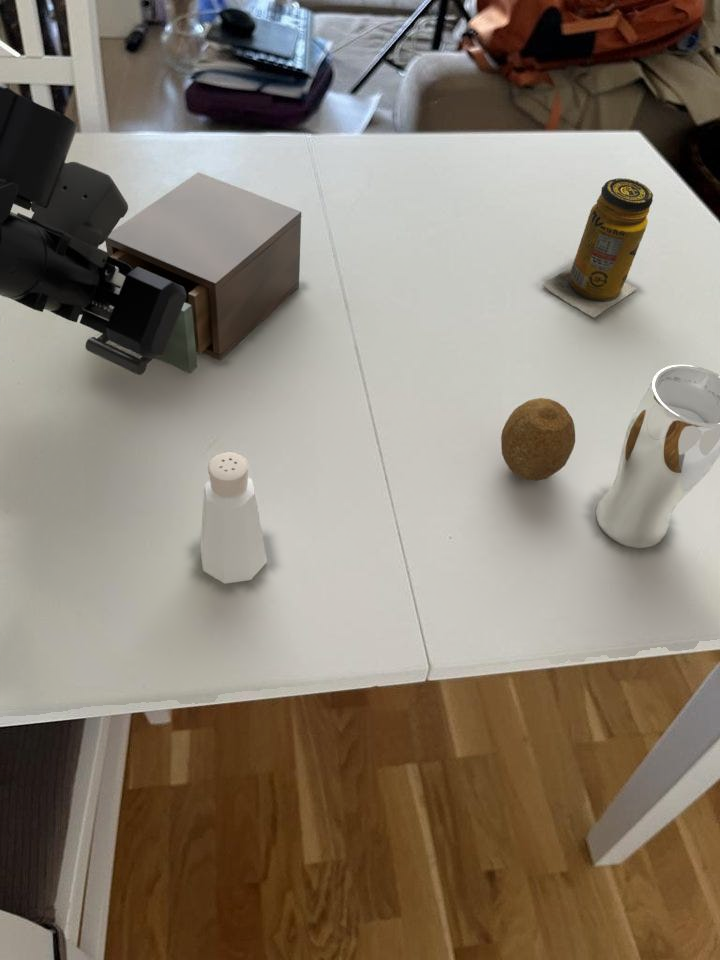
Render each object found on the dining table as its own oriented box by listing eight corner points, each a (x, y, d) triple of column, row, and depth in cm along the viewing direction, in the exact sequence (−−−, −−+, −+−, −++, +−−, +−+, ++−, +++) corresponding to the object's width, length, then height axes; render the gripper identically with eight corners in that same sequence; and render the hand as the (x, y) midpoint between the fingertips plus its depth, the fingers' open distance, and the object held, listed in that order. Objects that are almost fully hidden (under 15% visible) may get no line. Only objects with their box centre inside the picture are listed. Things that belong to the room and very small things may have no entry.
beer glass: (677, 507, 73) (751, 382, 62) (662, 565, 69) (738, 441, 58) (601, 479, 75) (659, 351, 63) (581, 533, 70) (640, 406, 59)
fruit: (519, 506, 72) (542, 442, 66) (479, 457, 75) (497, 393, 69) (575, 483, 74) (602, 420, 68) (533, 437, 78) (556, 373, 72)
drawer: (163, 398, 76) (154, 336, 70) (66, 352, 79) (50, 288, 73) (269, 301, 86) (269, 240, 81) (179, 263, 89) (174, 202, 84)
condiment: (636, 290, 94) (674, 193, 85) (593, 319, 90) (629, 221, 81) (584, 260, 98) (616, 164, 89) (540, 287, 93) (569, 189, 84)
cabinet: (220, 361, 81) (215, 283, 74) (117, 314, 84) (104, 236, 77) (299, 287, 90) (301, 211, 83) (203, 247, 93) (198, 171, 86)
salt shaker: (258, 591, 64) (256, 501, 56) (190, 578, 64) (178, 487, 56) (274, 536, 68) (275, 443, 59) (210, 524, 68) (201, 431, 60)
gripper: (158, 193, 57) (252, 254, 72) (-45, 112, 62) (83, 185, 77) (99, 345, 58) (203, 374, 73) (-95, 254, 63) (40, 298, 78)
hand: (131, 303), depth 75 cm, fingers closed, pressing on drawer
